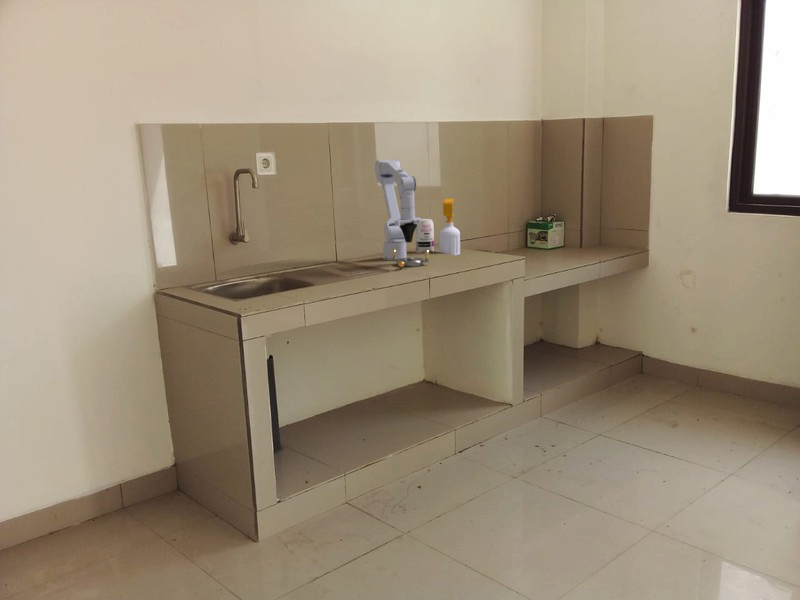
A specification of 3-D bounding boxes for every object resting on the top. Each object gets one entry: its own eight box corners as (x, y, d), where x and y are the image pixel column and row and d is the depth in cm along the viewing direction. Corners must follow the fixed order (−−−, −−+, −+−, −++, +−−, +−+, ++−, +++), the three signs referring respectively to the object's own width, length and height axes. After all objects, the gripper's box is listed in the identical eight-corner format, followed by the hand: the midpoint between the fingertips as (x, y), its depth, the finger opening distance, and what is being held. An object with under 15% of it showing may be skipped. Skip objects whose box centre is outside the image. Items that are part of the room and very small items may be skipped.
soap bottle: (461, 253, 303) (461, 197, 298) (457, 256, 295) (457, 199, 289) (442, 253, 306) (441, 198, 300) (437, 256, 297) (436, 200, 291)
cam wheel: (381, 269, 263) (381, 254, 262) (396, 261, 279) (396, 247, 277) (419, 270, 258) (419, 255, 257) (433, 262, 274) (432, 248, 272)
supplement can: (425, 250, 314) (424, 218, 311) (437, 252, 308) (437, 219, 304) (412, 252, 309) (411, 219, 306) (424, 254, 303) (423, 221, 299)
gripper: (404, 209, 259) (405, 244, 262) (426, 206, 270) (427, 240, 273) (389, 209, 263) (391, 244, 266) (412, 206, 274) (413, 239, 277)
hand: (408, 242), depth 270 cm, fingers closed
